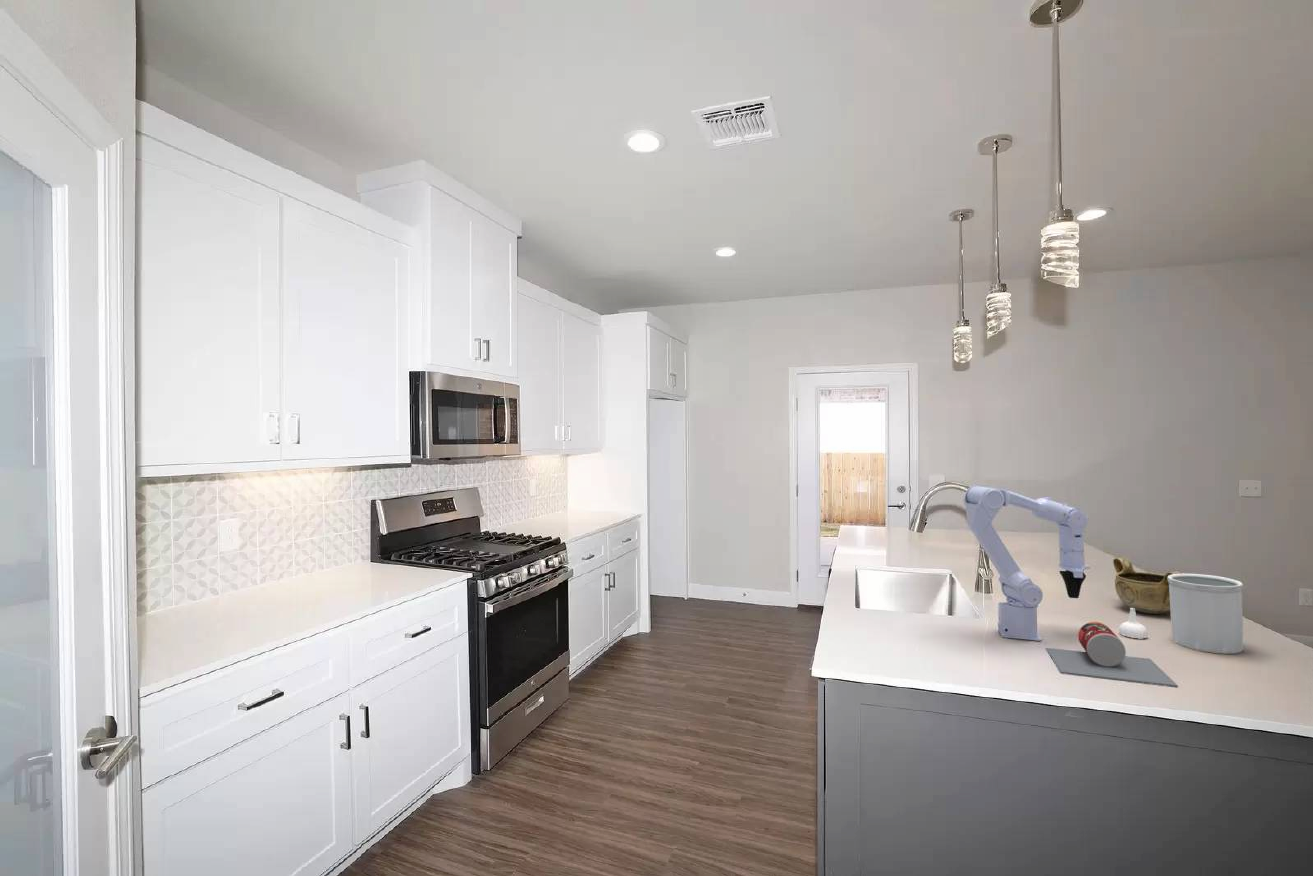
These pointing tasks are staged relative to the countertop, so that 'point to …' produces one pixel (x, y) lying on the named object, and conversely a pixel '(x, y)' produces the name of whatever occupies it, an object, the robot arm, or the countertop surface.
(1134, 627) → the garlic bulb
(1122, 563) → the ceramic bowl
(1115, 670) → the slate mat
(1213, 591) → the utensil holder
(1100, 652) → the canned food
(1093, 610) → the countertop surface
